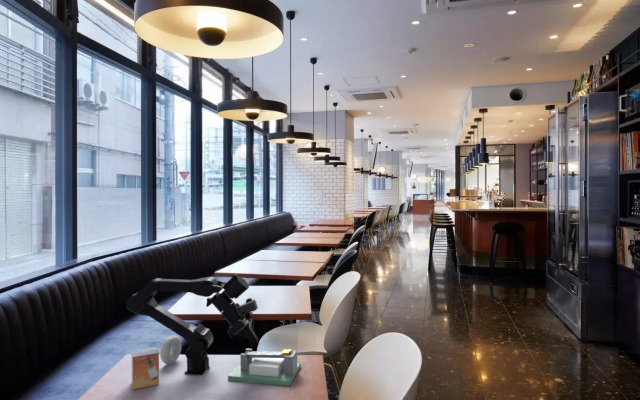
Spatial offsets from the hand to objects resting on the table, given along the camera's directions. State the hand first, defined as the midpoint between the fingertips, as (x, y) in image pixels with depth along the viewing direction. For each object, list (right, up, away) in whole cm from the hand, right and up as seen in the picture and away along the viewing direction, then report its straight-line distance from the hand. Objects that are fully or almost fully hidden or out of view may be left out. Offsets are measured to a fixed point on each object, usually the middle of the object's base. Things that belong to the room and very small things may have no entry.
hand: (256, 341), depth 141 cm
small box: (-35, -11, -8) cm, 38 cm away
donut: (-33, -11, +8) cm, 35 cm away
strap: (+4, -5, -1) cm, 6 cm away
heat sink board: (+3, -11, -1) cm, 11 cm away
